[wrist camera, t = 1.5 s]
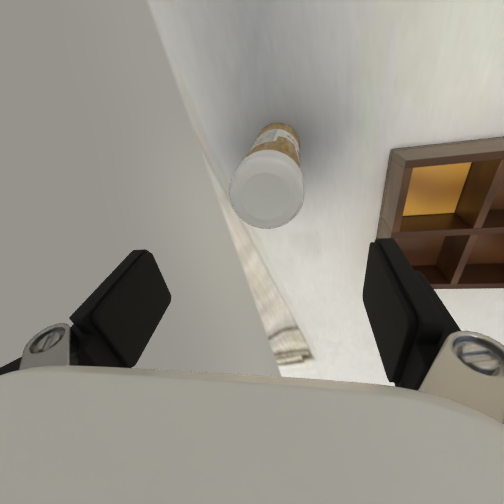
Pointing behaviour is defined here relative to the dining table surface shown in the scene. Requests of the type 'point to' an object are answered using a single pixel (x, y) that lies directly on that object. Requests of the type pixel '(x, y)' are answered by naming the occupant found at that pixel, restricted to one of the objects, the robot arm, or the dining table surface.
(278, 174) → the sprinkles bottle
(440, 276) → the tray
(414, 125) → the dining table surface
